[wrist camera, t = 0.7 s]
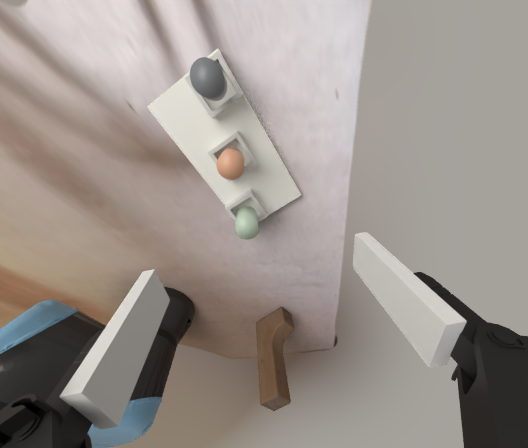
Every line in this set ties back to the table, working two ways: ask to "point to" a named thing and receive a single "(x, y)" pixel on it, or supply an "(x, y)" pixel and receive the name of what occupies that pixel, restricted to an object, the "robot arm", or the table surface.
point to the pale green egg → (246, 223)
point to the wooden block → (273, 358)
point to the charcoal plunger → (208, 79)
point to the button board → (226, 143)
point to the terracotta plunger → (230, 163)
